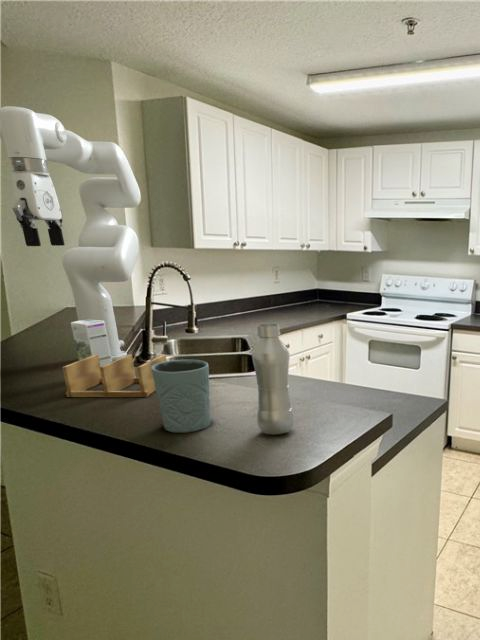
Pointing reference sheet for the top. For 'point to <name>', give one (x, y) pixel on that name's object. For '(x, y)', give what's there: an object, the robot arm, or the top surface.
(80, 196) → the robot arm
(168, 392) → the blue embossed cup
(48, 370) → the top surface
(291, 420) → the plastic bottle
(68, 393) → the wooden shelf rack
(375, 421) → the top surface
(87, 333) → the syrup box
